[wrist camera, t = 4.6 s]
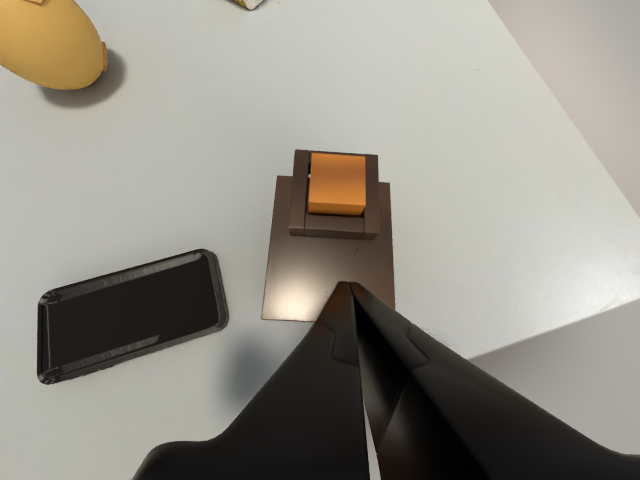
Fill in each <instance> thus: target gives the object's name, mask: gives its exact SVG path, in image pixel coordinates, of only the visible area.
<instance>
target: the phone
mask: <svg viewBox="0 0 640 480" xmlns="http://www.w3.org/2000/svg"><path fill="white" fill-rule="evenodd" d="M227 321H228V311H227V306H226V301H225V296H224V291H223V286H222V281H221V276H220V271H219V266H218V261H217V258H216V256H215V255H214V254H213V253H212V252H210V251H208V250H206V249H197V250H193V251H190V252H186V253H183V254H179V255H175V256H172V257H168V258H164V259H161V260H157V261H154V262H150V263H146V264H143V265H139V266H135V267H132V268H128V269H125V270H121V271H117V272H114V273H110V274H106V275H103V276H99V277H96V278H92V279H88V280H85V281H81V282H77V283H74V284H70V285H67V286H63V287H59V288H56V289H52V290H50V291H48V292H46V293H45V294H44V295H43V296H42V297H41V298H40V300H39V302H38V329H37V376H38V379H39V381H40V382H41V383H43V384H47V385H49V384H54V383H58V382H61V381H65V380H68V379H69V380H70V379H74V378H77V377H79V376H80V375H83V374H84V375H87V374H90V373H93V372H96V371H98V370H99V369H101V370H103V369H106V368H109V367H112V366H113V365H114V364H117V363H120V362H124V361H127V360H130V359H133V358H136V357H139V356H142V355H145V354H148V353H151V352H155V351H158V350H161V349H164V348H167V347H170V346H173V345H176V344H179V343H182V342H185V341H189V340H192V339H195V338H198V337H201V336H204V335H207V334H210V333H213V332H216V331H219V330H221V329H222V328H223V327H225V325H226V323H227Z"/></svg>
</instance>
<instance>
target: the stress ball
mask: <svg viewBox="0 0 640 480" xmlns="http://www.w3.org/2000/svg"><path fill="white" fill-rule="evenodd" d="M0 64H1V65H2V66H3V67H5V68H6V69H8V70H9V71H11V72H13V73H14V74H16V75H18V76H20V77H22V78H24V79H26V80H28V81H30V82H33V83H36V84H38V85H41V86H45V87H49V88H53V89H60V90H74V89H80V88H83V87H86V86H88V85H90V84H92V83H93V82H94V81H96V80H97V79H98V77H99V76H100V74H101V72H102V71H103V72H106V69H107V49H106V45H105V43H104V42H102V41H101V39H100V37H99V35H98V32H97V30H96V29H95V27H94V25H93V23H92V22H91V20H90V19H89V17H88V16H87V15H86V13H85V12H84V11H83V10H82V9H81V8H80V6H79V5H78V4H77V3H76V2H75V1H74V0H0Z"/></svg>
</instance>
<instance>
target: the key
mask: <svg viewBox="0 0 640 480" xmlns="http://www.w3.org/2000/svg"><path fill="white" fill-rule="evenodd" d="M365 205H366V187H365V157H363V156H349V155H334V154H320V153H312V158H311V173H310V189H309V213H314V214H331V215H347V216H360V215H361V213H362V211H363V209H364V207H365Z"/></svg>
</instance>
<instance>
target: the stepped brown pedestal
mask: <svg viewBox="0 0 640 480" xmlns="http://www.w3.org/2000/svg"><path fill="white" fill-rule="evenodd" d="M312 153H320V154H334V155H349V156H363V157H365V187H366V205H365V207H364V209H363V211H362V213H361V215H360V216H347V215H331V214H314V213H309V189H310V178H308V177H309V174H310V173H311V158H312ZM338 281H347V282H358V283H359V284H361V285H362V286H363V287H365V288H366V289H367V290H369V291H370V292H371V293H373V294H374V295H375V296H377V297H378V298H379V299H381V300H382V301H383V302H385V303H386V304H387V305H389V306H390V307H391V308H393V309H394V310H395V292H394V269H393V246H392V223H391V200H390V183H385V182H379V179H378V155H371V154H364V155H363V154H354V153H339V152H325V151H310V152H309V150H295V156H294V167H293V176H277V182H276V191H275V200H274V209H273V218H272V227H271V236H270V245H269V254H268V263H267V272H266V281H265V290H264V299H263V308H262V317H261V319H263V320H284V321H306V322H315V321H316V319H317V318H318V316H319V314H320V312H321V311H322V309H323V307H324V305H325V304H326V302H327V300H328V298H329V297H330V295H331V293H332V292H333V290H334V288H335V286H336V285H337V283H338Z"/></svg>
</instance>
